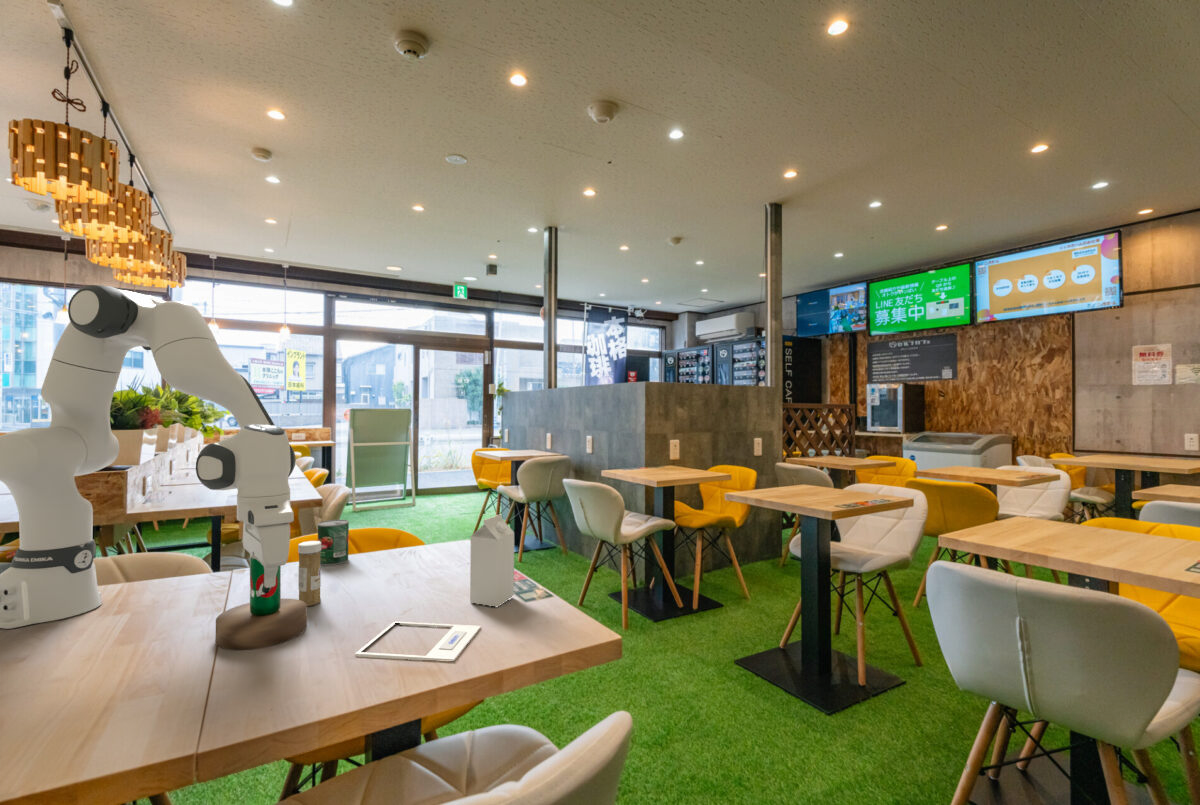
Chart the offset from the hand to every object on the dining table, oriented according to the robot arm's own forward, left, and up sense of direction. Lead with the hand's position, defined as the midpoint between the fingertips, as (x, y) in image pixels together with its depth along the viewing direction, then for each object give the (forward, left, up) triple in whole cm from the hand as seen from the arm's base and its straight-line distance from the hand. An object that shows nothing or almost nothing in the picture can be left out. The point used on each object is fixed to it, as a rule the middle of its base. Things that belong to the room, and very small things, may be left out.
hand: (263, 580), depth 107 cm
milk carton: (+40, +20, -10) cm, 46 cm away
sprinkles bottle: (0, +16, -10) cm, 19 cm away
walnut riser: (0, 0, -10) cm, 10 cm away
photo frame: (+32, -2, -11) cm, 34 cm away
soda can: (+1, 0, -6) cm, 6 cm away
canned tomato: (-12, +48, -10) cm, 50 cm away
